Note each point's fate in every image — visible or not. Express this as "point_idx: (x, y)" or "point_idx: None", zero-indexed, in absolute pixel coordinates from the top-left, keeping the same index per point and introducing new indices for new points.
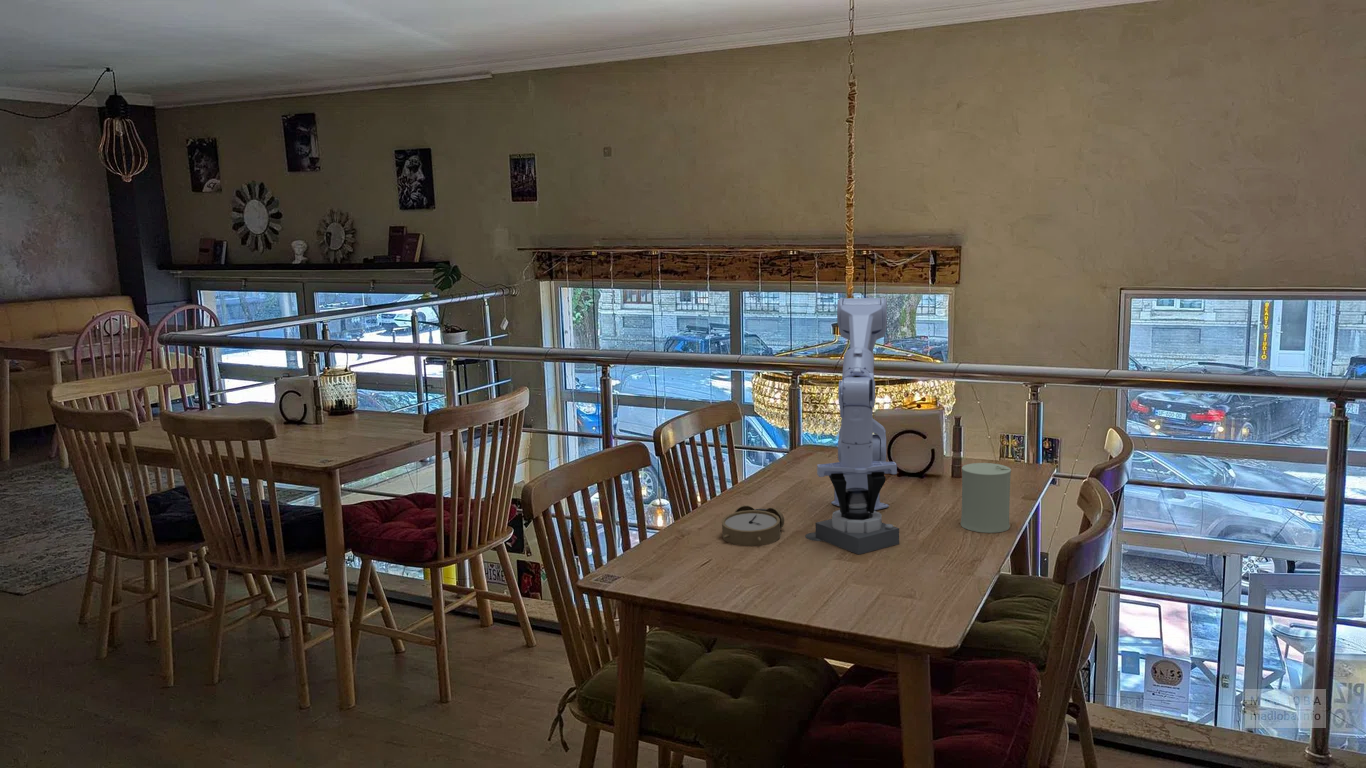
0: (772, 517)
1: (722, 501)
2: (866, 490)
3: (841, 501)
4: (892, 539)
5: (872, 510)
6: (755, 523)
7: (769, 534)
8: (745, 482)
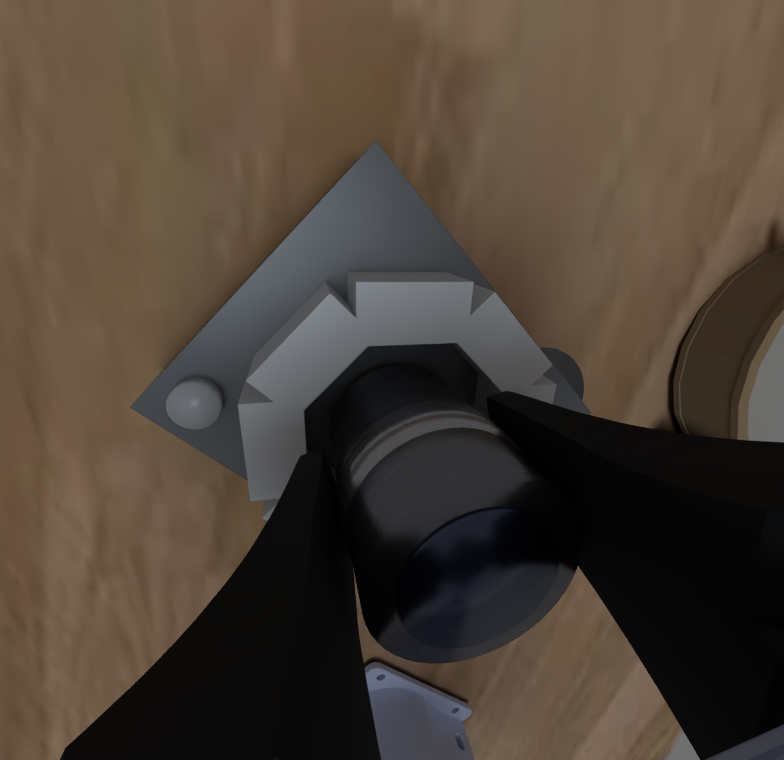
0: None
1: None
2: (378, 612)
3: (577, 413)
4: (184, 347)
5: (305, 458)
6: None
7: (768, 286)
8: (663, 755)
